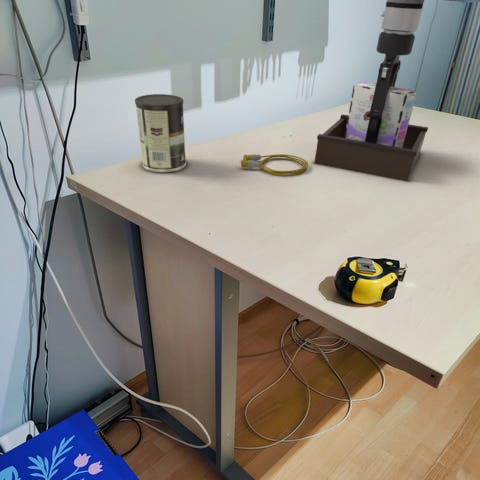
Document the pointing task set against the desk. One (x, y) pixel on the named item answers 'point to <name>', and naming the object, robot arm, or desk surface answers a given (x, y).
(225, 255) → the desk surface
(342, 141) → the square shelf
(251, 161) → the extension cord
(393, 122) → the candy box
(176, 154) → the coffee can
